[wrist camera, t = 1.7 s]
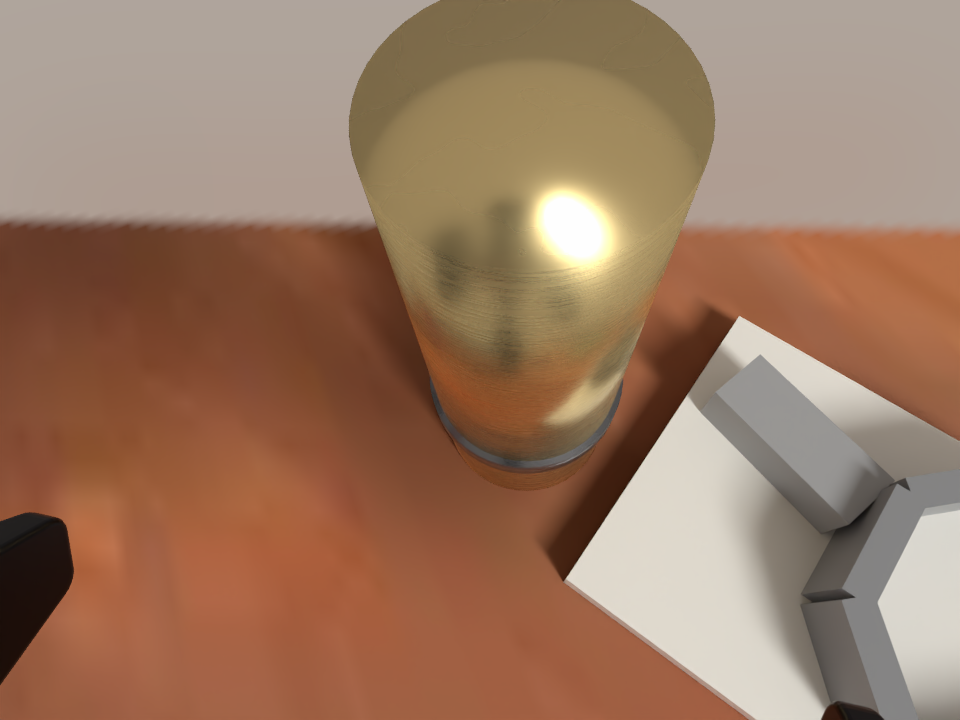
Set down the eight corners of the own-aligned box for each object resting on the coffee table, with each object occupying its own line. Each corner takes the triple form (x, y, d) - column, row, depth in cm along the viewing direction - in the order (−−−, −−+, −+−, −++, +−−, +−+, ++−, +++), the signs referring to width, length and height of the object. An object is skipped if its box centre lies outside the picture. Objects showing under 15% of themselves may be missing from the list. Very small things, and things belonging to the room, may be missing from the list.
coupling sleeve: (481, 522, 21) (416, 343, 8) (421, 375, 23) (292, 43, 10) (635, 455, 22) (805, 186, 9) (563, 317, 24) (614, -71, 11)
